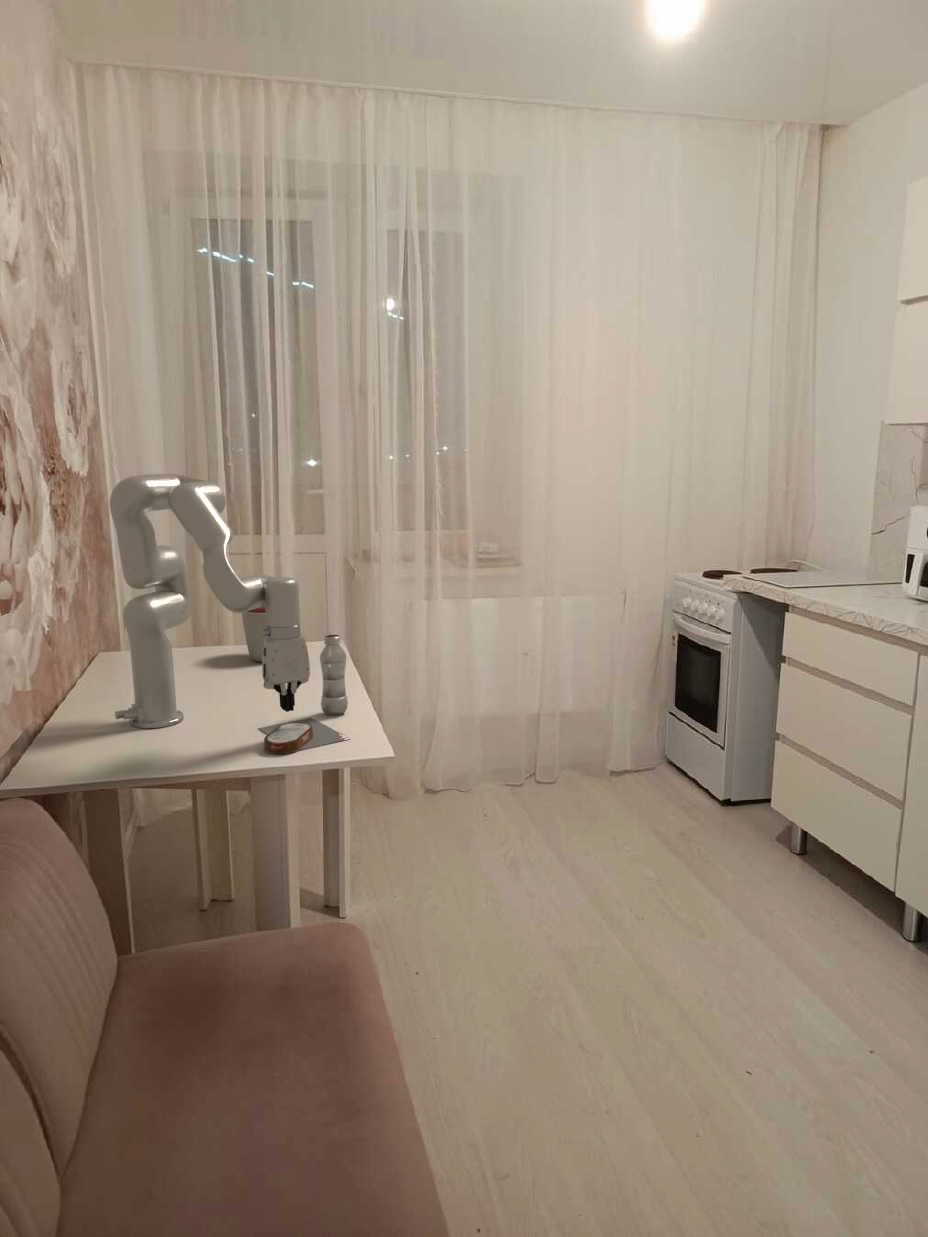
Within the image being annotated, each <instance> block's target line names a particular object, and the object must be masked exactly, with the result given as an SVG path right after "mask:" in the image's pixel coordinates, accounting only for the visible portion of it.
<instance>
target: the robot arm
mask: <svg viewBox="0 0 928 1237" xmlns="http://www.w3.org/2000/svg"><path fill="white" fill-rule="evenodd" d="M226 502H227V499H226V495H225V493H224V491H223V490H222V488H221V487H220V486H219V485H217V484H216V483H214V482H212V481H209V480H204V479H200V478H194V477H190V476H185V475H180V474H176V473H175V474H174V473H157V474H156V473H153V474H152V473H151V474H139V475H132V476H129V477H125V478H124V479H122V480H120V481H119V482H118V483H117V484H116V485H115V486H114V487H113V489H112V491H111V494H110V497H109V511H110V514H111V515H110V516H111V519H112V521H113V524H114V528H115V533H116V538H117V544H118V552H119V557H120V558H119V559H120V564H121V570H122V574H123V579H124V581H125V583H126V584H127V586H128V587H130V588H132V589H135V590H143V589H151V588H154V589H155V590H154V591H153V592H149V593H144V594H141V595H138V596H135V597H133V598H132V599H130V600H129V601H128V602H127V604H126V605H125V606H124V609H123V612H122V613H123V614H122V616H123V624H124V628H125V630H126V633H127V637H128V642H129V643H128V644H129V651H130V660H131V661H130V662H131V670H132V671H131V672H132V682H133V683H132V684H133V694H134V703H132V704H131V707H127V709H122V710H117V711H116V710H115V711H114V716H115V720H119V719H120V720H121V719H123V720H125V721H126V720H129V724H130V725H131V726H132V727H135V728H139V729H158V728H164V727H170V726H173V725H176V724H179V723H180V722H182V721H183V720H184V716H185V715H184V712H183V711H181V710H178V709H177V699H176V698H177V696H176V684H175V672H174V671H175V668H174V656H173V649H172V648H173V647H172V645H171V641H170V640H169V638H168V636H167V635H166V632H165V631H166V630H168V629H173V628H176V627H178V626H181V625H182V624H183V625H184V623H185V622H186V621H187V620H188V619H189V618H190V614H191V608H192V604H191V597H190V591H189V590H190V589H189V584H188V583H189V582H188V577H187V570H186V565H185V562H184V559H183V557H182V556H181V554H180V552H178V550H176V549H175V548H174V547H172V546H169V545H158V544H157V540H156V533H155V529H154V526H153V524H152V522H151V521H150V519H149V518H148V516H147V515H146V513H148V512H156V511H157V512H158V511H165V510H166V511H167V510H171V512H172V513H173V514H174V515H175V517H176V518H177V520H178V521H179V522H180V524H181V526H182V527H183V528H184V530H185V531H186V532H187V534H188V535H189V537H190V538H191V539H192V541H193V542H194V544H195V545H196V547H197V548H198V550H199V551H200V552H201V565H202V566H201V567H202V571H203V576H204V579H205V582H206V584H207V585H208V587H209V589H210V590H211V591H212V593H213V595H214V596H215V597H216V598H217V601H219V602H220V604H221V605H222V606H223V607H224V608H225V609H227V610H228V611H230V612H233V613H236V614H242V612H246V611H249V610H252V609H256V608H260V607H264V606H266V625H267V626H266V629H264V630H261V635H262V636H266V637H267V639H265V641H264V647H263V657H262V662H261V663H262V666H261V668H262V670H261V671H262V678H263V685H262V686H263V688H264V689H266V690H274V691H276V693H278V696H279V706H280V708H281V710H282V711H284V712H290V711H291V712H293V711H294V710H295V708H294V706H295V705H296V701H295V694H296V693H297V690H298V689H299V687H300V686H301V685H303V684H305V683H307V682H309V679H310V678H309V677H311V676H310V675H311V664H310V658H309V657H310V656H309V651H308V646H307V642H306V638H305V636H304V635H302V633H301V631H302V630H301V611H300V590H299V589H300V588H299V581H297V579H296V578H293V577H289V576H287V577H285V576H281V577H275V576H271V575H268V574H260V573H259V574H252V575H248V576H243V577H241V578H240V577H239V576H238V575H237V574H236V572H235V571H234V570H233V568H232V566H231V565H230V563H229V561H228V557H227V548H228V546H229V545H230V544H231V542H232V541H233V539H234V531H233V530H232V528H231V527H230V526H229V524H228V523H227V521H226V520H225V519H224V517H223V515H221V514H222V513H223V511H224V510H225V508H226V505H227V504H226Z"/></svg>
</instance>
